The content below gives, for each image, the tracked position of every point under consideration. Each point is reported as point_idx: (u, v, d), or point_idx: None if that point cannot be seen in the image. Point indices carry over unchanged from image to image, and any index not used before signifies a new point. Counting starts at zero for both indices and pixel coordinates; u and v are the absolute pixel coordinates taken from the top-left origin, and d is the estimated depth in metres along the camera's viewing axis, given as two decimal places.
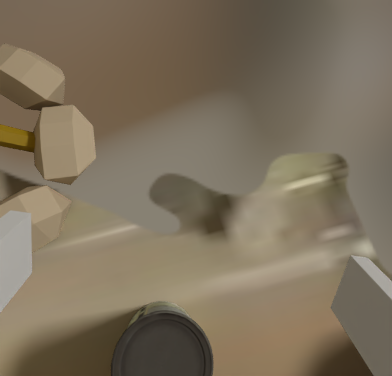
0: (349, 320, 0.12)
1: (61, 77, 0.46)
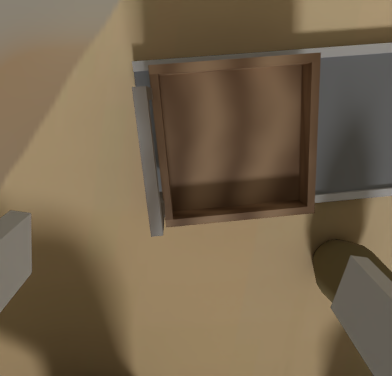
0: (349, 320, 0.12)
1: None
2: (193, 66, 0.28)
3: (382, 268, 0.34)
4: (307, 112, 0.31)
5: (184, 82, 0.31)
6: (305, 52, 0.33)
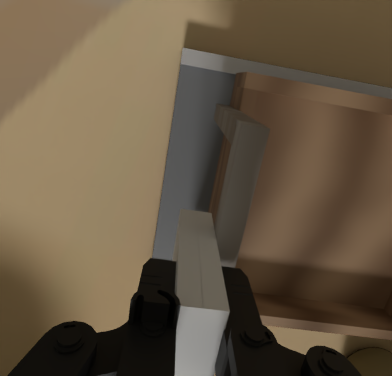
0: None
1: None
2: (319, 94, 0.16)
3: None
4: None
5: (284, 109, 0.19)
6: None
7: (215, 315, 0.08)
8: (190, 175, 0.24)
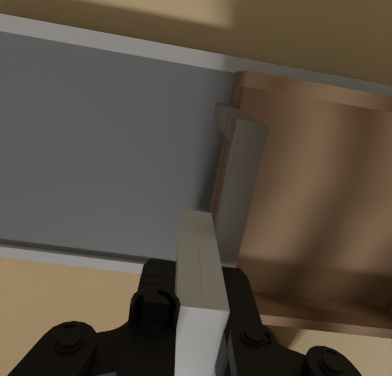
0: None
1: None
2: (319, 92, 0.16)
3: None
4: None
5: (284, 108, 0.19)
6: (271, 69, 0.21)
7: (215, 315, 0.08)
8: (23, 149, 0.23)
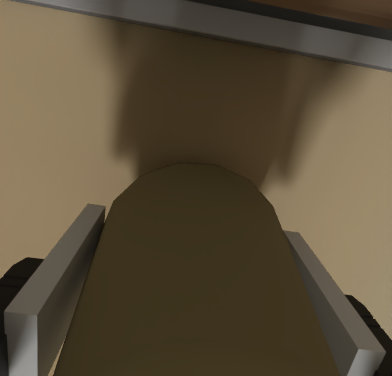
0: None
1: None
2: None
3: (260, 244, 0.08)
4: None
5: None
6: None
7: (369, 355, 0.08)
8: None
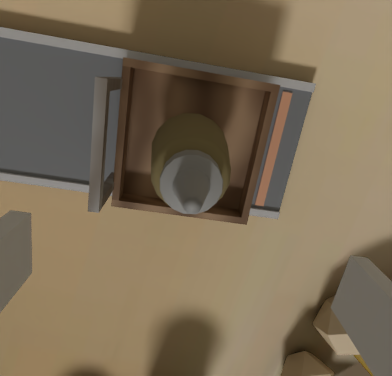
0: (349, 320, 0.12)
1: None
2: (164, 69, 0.31)
3: (210, 130, 0.27)
4: (259, 134, 0.34)
5: (156, 80, 0.33)
6: (154, 58, 0.35)
7: None
8: (7, 108, 0.37)
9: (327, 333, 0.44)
